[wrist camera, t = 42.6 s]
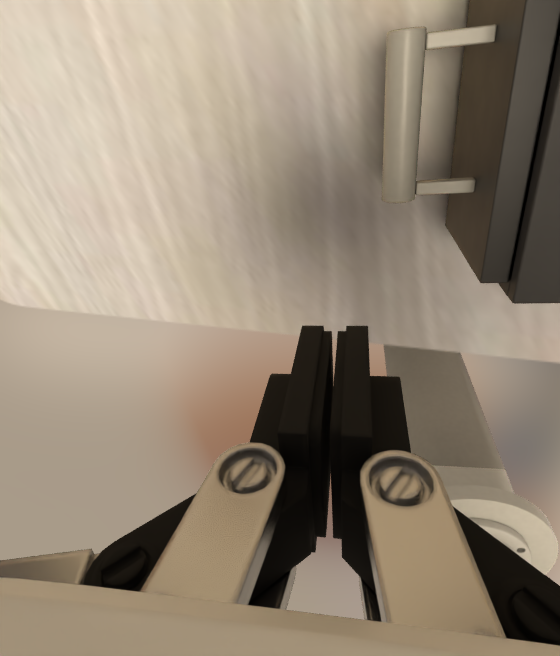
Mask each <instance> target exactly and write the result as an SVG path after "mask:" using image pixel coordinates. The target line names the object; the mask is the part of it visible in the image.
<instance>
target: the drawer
mask: <svg viewBox="0 0 560 656" xmlns="http://www.w3.org/2000/svg"><path fill="white" fill-rule="evenodd" d="M559 26H560V0H470V1H469V11H468V20H467V28H461V29H453V30H444V31H436V32H429V33H427V34H426V27H413V28H405V29H398V30H393V31H389V32H388V33H387V42H386V76H385V110H384V143H383V177H382V200H383V201H385V202H389V203H404V202H409V201H412V200H414V199H415V194H416V195H433V194H449V197H448V206H447V215H446V227H447V229H448V230H449V232H450V234H451V235H452V237H453V239H454V240H455V242H456V244H457V245H458V247H459V249H460V250H461V252H462V253H463V255H464V257H465V258H466V260H467V262H468V263H469V265H470V267H471V268H472V270H473V272H474V273H475V275H476V276H477V278H478V280H479V281H480V283H507V282H508V279H509V274H510V269H511V264H512V259H513V254H514V249H515V244H516V240H517V241H518V242H519V237H520V232H521V227H522V222H523V217H524V212H525V207H526V202H527V197H528V192H529V187H530V182H531V177H532V172H533V167H534V165H533V164H531V162H532V157H533V152H534V147H535V142H536V137H537V132H538V127H539V122H540V117H541V111H542V106H543V101H544V96H545V91H546V86H547V81H548V76H549V71H550V66H551V61H552V56H553V50H554V45H555V40H556V35H557V30H558V28H559ZM459 46H465V48H464V57H463V67H462V76H461V85H460V94H459V104H458V113H457V122H456V132H455V141H454V150H453V159H452V169H451V178H450V179H436V180H419V181H416V175H417V160H418V146H419V131H420V117H421V102H422V87H423V73H424V58H425V50H433V49H442V48H451V47H459Z"/></svg>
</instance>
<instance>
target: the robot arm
mask: <svg viewBox="0 0 560 656" xmlns="http://www.w3.org/2000/svg"><path fill="white" fill-rule="evenodd" d="M369 369H370V367H369V343H368V326H346V331H338V338H337V350H336V362H335V374H334V387H333V357H332V332H331V331H324V327H323V326H302V329H301V333H300V337H299V342H298V346H297V350H296V354H295V359H294V363H293V367H292V372H291V374H271V375H270V378H269V381H268V384H267V387H266V390H265V394H264V397H263V400H262V404H261V407H260V410H259V413H258V417H257V420H256V423H255V426H254V430H253V433H252V436H251V440H250V443H245V444H239V445H237V446H234V447H232V448H230V449H228V450H227V451H226V452H224V453H223V454H221V455H220V456H219V458H218V459H217V460H216V461H215V463H214V464H213V466H212V468H211V470H210V471H209V473H208V475H207V476H206V478H205V480H204V482H203V483H202V485H201V487H200V489H199V490H198V492H197V493H196V494H195V495H193V496H191V497H189V498H188V499H186V500H184V501H183V502H181V503H179V504H178V505H176V506H174V507H172V508H171V509H169V510H167V511H166V512H164V513H162V514H161V515H159V516H157V517H156V518H154V519H152V520H150V521H149V522H147V523H145V524H144V525H142V526H140V527H139V528H137V529H135V530H133V531H132V532H130V533H129V534H127V535H125V536H123V537H122V538H120V539H118V540H117V541H115V542H114V543H112V544H111V545H109V546H108V547H107V548H105V549H104V550H103V551H102V552H101V553H99V554H94V553H93V551H92V549H86V550H77V551H70V552H62V553H54V554H47V555H39V556H31V557H24V558H16V559H9V560H0V656H560V586H559V585H558V584H556V583H555V582H553V581H552V580H551V579H550V578H548V577H547V576H546V575H544V574H543V573H542V572H540V571H539V570H538V569H536V568H535V567H534V566H532V565H531V563H532V556H531V552H530V549H529V547H528V544H527V542H526V541H525V539H524V538H523V537H522V536H521V535H520V534H519V533H518V532H517V531H515V530H514V529H512V528H510V527H508V526H506V525H504V524H501V523H498V522H495V521H491V520H486V519H479V518H468V517H467V516H465V515H464V514H463V513H461V512H460V511H459V510H457V509H456V508H455V507H453V506H452V503H451V501H450V498H449V496H448V493H447V491H446V489H445V486H444V484H443V481H442V479H441V477H440V475H439V473H438V472H437V470H436V469H435V467H433V466H432V465H431V464H430V463H429V462H428V461H427V460H425V459H423V458H422V457H420V456H418V455H416V454H413V453H411V450H410V443H409V436H408V429H407V422H406V415H405V409H404V402H403V395H402V388H401V381H400V377H389V376H370V370H369ZM330 473H331V489H332V511H333V512H332V514H333V538H338V539H342V558H343V559H344V560H345V561H346V562H347V563H348V564H349V565H350V566H351V567H352V569H354V571H355V572H356V573H357V574H358V575H359V586H360V592H361V599H362V606H363V613H364V619H365V620H361V619H354V618H346V617H338V616H330V615H322V614H314V613H307V612H299V611H291V610H286V608H287V605H288V601H289V598H290V594H291V591H292V587H293V584H294V580H295V575H296V565H297V564H299V563H300V562H301V561H303V560H304V559H305V558H306V557H307V556H309V555H310V554H311V552H315V550H316V540H317V537H326V529H327V515H328V501H329V487H330Z"/></svg>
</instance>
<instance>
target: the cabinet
mask: <svg viewBox="0 0 560 656" xmlns="http://www.w3.org/2000/svg"><path fill="white" fill-rule="evenodd" d="M499 285H500V286H501V288H502V289H503V291H504V292H505V294H506V295H507V296H508V297H509V298H510V300H511V301H512V303H560V37H559V42H558V47H557V52H556V57H555V62H554V67H553V72H552V77H551V82H550V87H549V92H548V97H547V102H546V107H545V112H544V117H543V122H542V127H541V132H540V137H539V142H538V147H537V152H536V157H535V162H534V167H533V172H532V177H531V182H530V187H529V192H528V197H527V202H526V207H525V212H524V217H523V222H522V227H521V232H520V237H519V242H518V241H517V240H516V244H515V249H514V254H513V259H512V264H511V269H510V274H509V279H508V282H507V283H499Z"/></svg>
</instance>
